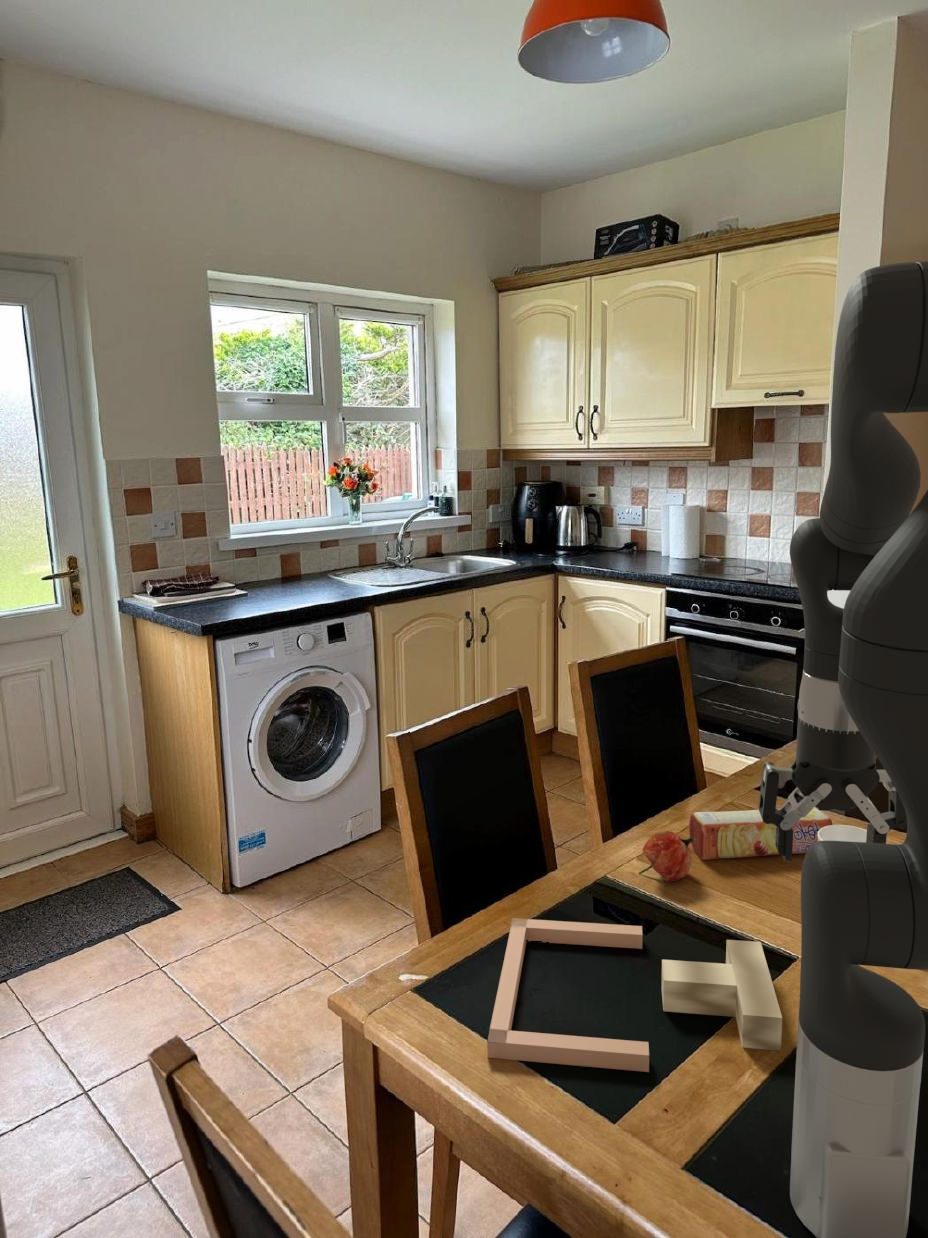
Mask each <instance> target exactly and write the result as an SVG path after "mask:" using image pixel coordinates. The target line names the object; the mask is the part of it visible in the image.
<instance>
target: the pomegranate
mask: <svg viewBox="0 0 928 1238" xmlns="http://www.w3.org/2000/svg"><path fill="white" fill-rule="evenodd" d="M695 840H696V839H693V838H690V837H689V838H687V839H683V838H681V836H680V835H679V834H677V833H675V832H673V831H669V830H665V831H657V832H655V833H653V834H652V835H651V836H650V838H648V839H647V840H646V842H645V843H644V846H643V848H642V851H643V853H644V856H645V857H646V859H647V860H648V861H649V862H650V863H651V864H650V865H649V866H647V867H646V868H645V869H642V870H641V871H639V872H638V875H642V874H643V873H645V872H646V871H649V870H650V869H651V868H652V869H653V870H654V871H655V872H656V873H658V874H659V875H660V876H661V877H662V879H663V880H664V881H665V882H669V883H670V882H675V881H679V880H680V879H683V878H684V877H685V876H686V875H687V874H688V873H689V871H690V869H691V866H692V864H693V863H692V861H693V860H692V859H693V858H692V852H691V849H690V847H689V846H690V844H691V842H693V841H695Z"/></svg>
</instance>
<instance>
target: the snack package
mask: <svg viewBox="0 0 928 1238" xmlns="http://www.w3.org/2000/svg"><path fill="white" fill-rule="evenodd" d="M777 809H778V810H779V809H780V808H777ZM688 823H689V824H688V825H689V831H688V832H689V833H688V834H689V838H693V839H696V840H695V841H693V842H691V843H690V844H691V846H692V849H693V850H694V851H695V853H696V854H697V856H698V857H699V858H700V859H701V860H703V861H707V860H717V859H732V858H733V859H735V858H748V857H750V858H751V857H760V856H761V857H763V856H776V855H779V853H778V851H777V848H776V845H775V840H776V825H774V824H766V823H764V822H763V820H762V817H761V815H760V812H759V809H752V810H750V809H749V810H732V811H696V812H693V813H691V815H690V817H689V822H688ZM830 825H834V824H833V821H832V819H831V817H830V816H829V815H828V814H827V813H825V812H824V811H823V810H818V808H816V807H814V808H813V809H812V810H811V811H810V812H809V813H808V814H807V815H806V816H805V817H802V818H800V819H799V820H798V821H797V822H796V823H795V825H794V826H793V827H792V829H793V849H792V855H794V854H796V855H797V854H798V855H799V854H806V853H807V851H808V849H809V847H810V846H811V845H812V844H813V843H815V842H818V831H819V830H820V829H821V828H823V827H826V826H830Z"/></svg>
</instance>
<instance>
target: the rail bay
mask: <svg viewBox="0 0 928 1238" xmlns="http://www.w3.org/2000/svg"><path fill="white" fill-rule="evenodd" d="M526 940H528V941H526ZM531 941H542V942H541V943H546V942H549V944H562V945H563V944H564V945H565V944H566V945H576V946H577V945H578V946H579V945H581V946H595V947H611V948H626V949H639V950H640V949H641V950H642V949H643V925H631V924H630V925H629V924H628V925H627V924H614V923H613V924H611V923H598V922H581V921H563V920H549V919H548V920H547V919H532V918H531V919H529V918H516V917H515V918H514V917H512V919H511V924H510V930H509V934H508V939H507V943H506V944H507V945H506V949H505V953H504V960H503V964H502V969H501V972H500V977H499V981H498V988H497V992H496V997H495V1002H494V1007H493V1012H492V1014H491V1015H492V1016H491V1017H492V1018H491V1020H490V1026H489V1031H488V1036H487V1040H486V1043H487V1046H486V1047H487V1058H489V1059H498V1060H499V1059H501V1060H508V1061H509V1060H511V1061H520V1062H521V1061H523V1062H535V1063H542V1064H543V1063H544V1064H545V1063H546V1064H555V1065H556V1064H557V1065H567V1066H578V1067H589V1068H590V1067H591V1068H600V1069H610V1070H611V1069H612V1070H621V1071H623V1070H624V1071H632V1072H633V1071H634V1072H644V1073H645V1072H646V1073H650V1048H649V1047H650V1046H649V1041H641V1040H627V1039H626V1040H625V1039H614V1038H604V1037H603V1038H602V1037H592V1036H591V1037H590V1036H582V1035H581V1036H580V1035H579V1036H578V1035H568V1034H558V1033H557V1034H556V1033H545V1032H544V1033H542V1032H534V1031H533V1032H531V1031H521V1030H520V1031H519V1030H512V1027H513V1022H514V1014H515V1009H516V1003H517V999H518V992H519V986H520V980H521V976H522V968H523V962H524V957H525V951H526V946H527V942H531Z"/></svg>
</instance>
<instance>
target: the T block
mask: <svg viewBox="0 0 928 1238" xmlns="http://www.w3.org/2000/svg"><path fill="white" fill-rule="evenodd" d="M761 942H762V941H752V940H737V939H736V940H735V939H726V942H725V944H726V946H725V947H726V948H725V949H726V950H725V951H726V952H725V963H719V962H704V961H703V962H702V961H690V960H688V961H687V960H676V959H675V960H674V959H661V997H662V999H661V1001H662V1009H663V1012H670V1013H681V1014H694V1015H695V1014H696V1015H706V1016H722V1017H734V1018H735V1020H736V1024H737V1029H738V1035H739V1036H738V1037H739V1040H740V1045H741V1048H745V1049H756V1050H757V1049H758V1050H770V1051H779V1052H780V1051H782V1037H783V1036H782V1034H783V1033H782V1032H783V1015H782V1012H781V1008H780V1005H779V1001H778V997H777V994H776V991H775V987H774V984H773V980H772V977H771V973H770V970H769V967H768V963H767V960H766V956H765V953H764V948H763V945H762V943H761Z"/></svg>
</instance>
